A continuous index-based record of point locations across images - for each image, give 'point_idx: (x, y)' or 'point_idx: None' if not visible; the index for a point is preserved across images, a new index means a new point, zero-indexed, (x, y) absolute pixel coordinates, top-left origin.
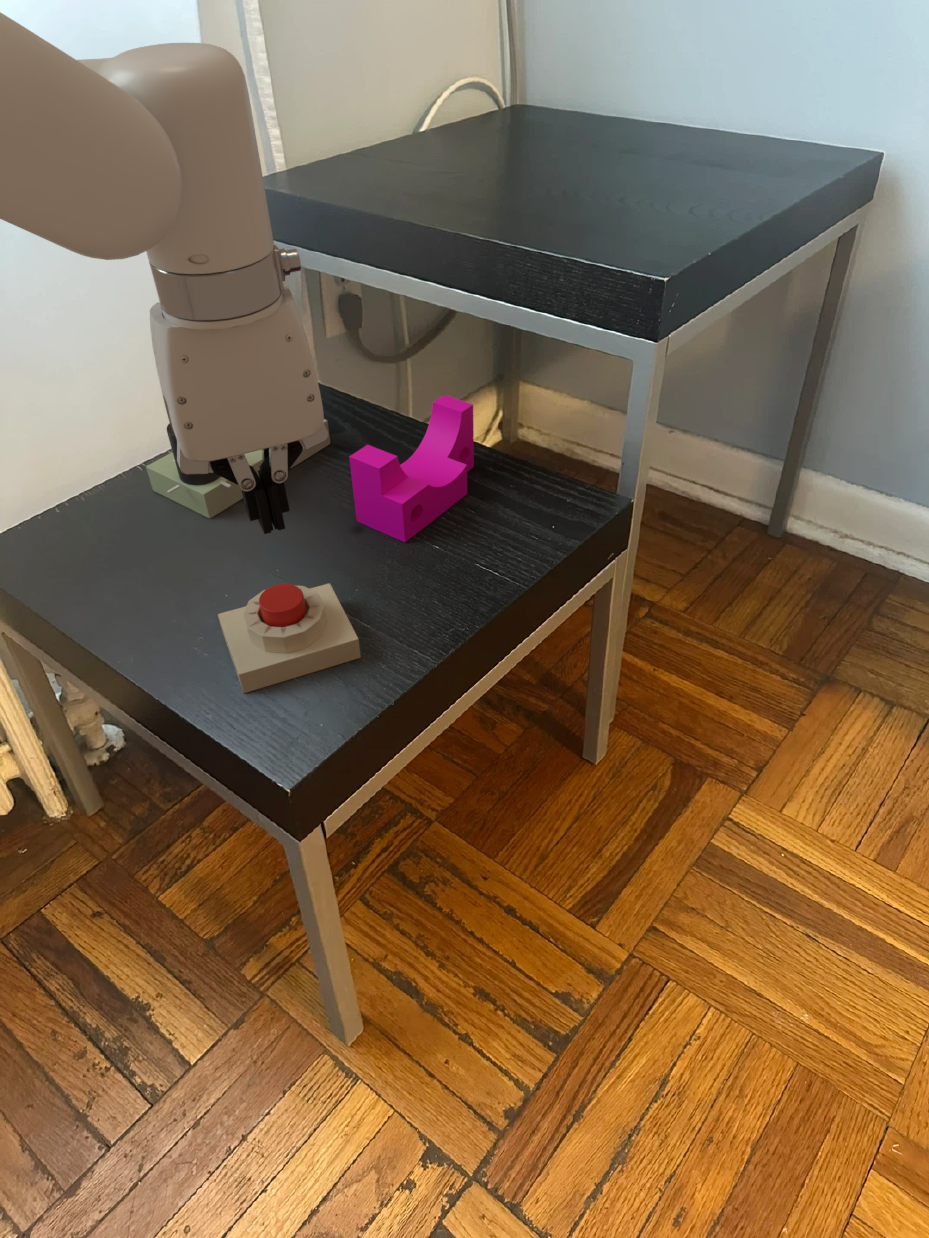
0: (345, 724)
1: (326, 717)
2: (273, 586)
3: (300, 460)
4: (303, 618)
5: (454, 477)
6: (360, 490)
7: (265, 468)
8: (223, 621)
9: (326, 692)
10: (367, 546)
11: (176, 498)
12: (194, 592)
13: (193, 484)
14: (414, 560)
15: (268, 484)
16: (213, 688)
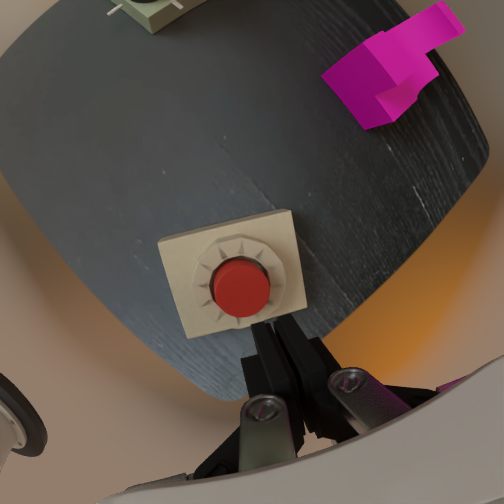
0: None
1: None
2: (234, 269)
3: None
4: None
5: (426, 81)
6: (349, 69)
7: (328, 426)
8: (164, 257)
9: None
10: (328, 122)
11: (121, 7)
12: (128, 161)
13: (138, 2)
14: (369, 161)
15: (317, 430)
16: (159, 315)
